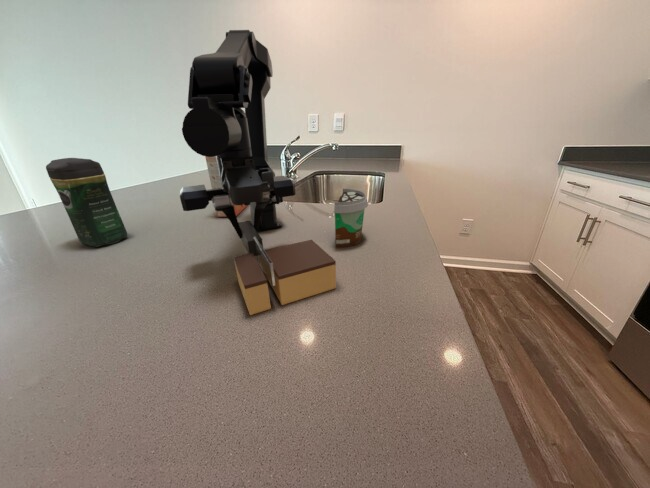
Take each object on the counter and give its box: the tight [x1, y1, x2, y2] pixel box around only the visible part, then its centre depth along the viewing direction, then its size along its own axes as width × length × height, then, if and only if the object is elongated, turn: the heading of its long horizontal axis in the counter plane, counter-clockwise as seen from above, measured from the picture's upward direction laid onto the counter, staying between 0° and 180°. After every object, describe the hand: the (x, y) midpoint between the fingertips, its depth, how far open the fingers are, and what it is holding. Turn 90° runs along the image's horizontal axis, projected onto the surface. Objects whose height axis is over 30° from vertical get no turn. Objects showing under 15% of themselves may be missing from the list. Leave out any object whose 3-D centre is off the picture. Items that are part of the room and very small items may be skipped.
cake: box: [264, 239, 337, 306], centre depth 42 cm, size 9×9×5 cm
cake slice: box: [233, 253, 272, 316], centre depth 39 cm, size 9×3×5 cm, turn 27°
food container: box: [333, 188, 369, 248], centre depth 56 cm, size 12×6×10 cm, turn 168°
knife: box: [238, 220, 275, 287], centre depth 43 cm, size 20×2×4 cm, turn 27°
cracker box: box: [204, 156, 248, 218], centre depth 75 cm, size 14×6×21 cm, turn 179°
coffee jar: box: [45, 157, 128, 248], centre depth 57 cm, size 10×8×19 cm
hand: (247, 236), depth 49 cm, fingers closed on knife, 2 cm apart
